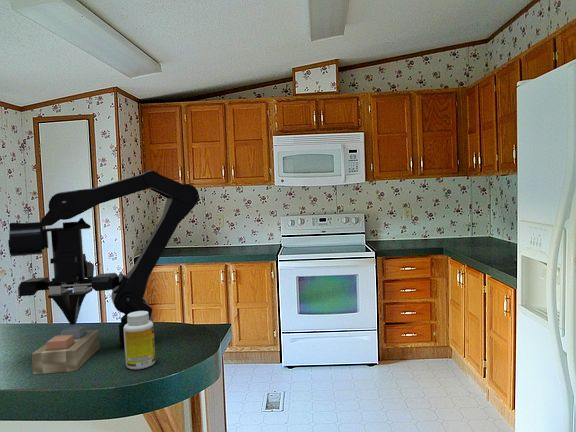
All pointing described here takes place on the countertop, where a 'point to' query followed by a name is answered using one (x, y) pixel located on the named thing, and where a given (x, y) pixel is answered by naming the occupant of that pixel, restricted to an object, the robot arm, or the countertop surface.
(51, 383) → the countertop surface
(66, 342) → the key terracotta
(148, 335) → the supplement bottle
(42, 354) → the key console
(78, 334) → the light blue square block
